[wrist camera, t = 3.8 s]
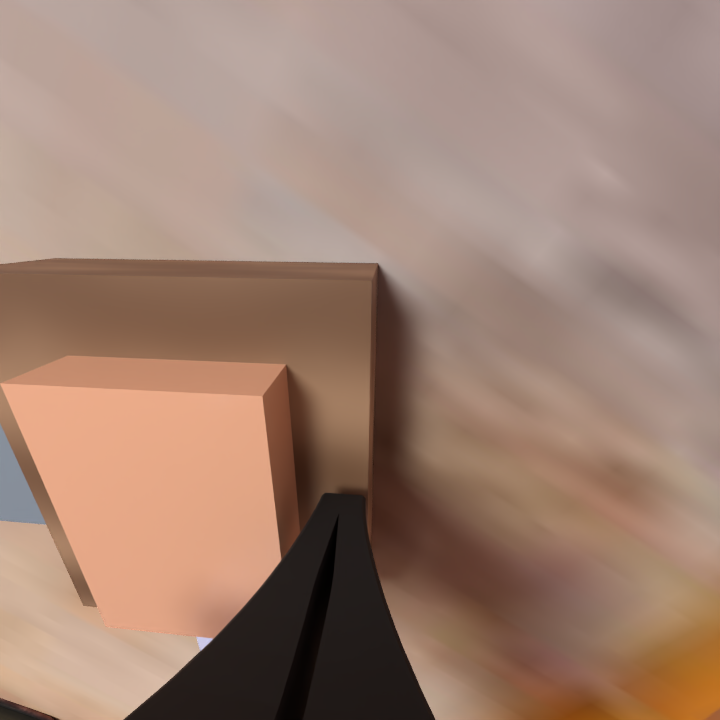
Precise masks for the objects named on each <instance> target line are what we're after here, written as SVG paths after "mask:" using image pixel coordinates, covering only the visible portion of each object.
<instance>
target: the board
mask: <svg viewBox="0 0 720 720" xmlns="http://www.w3.org/2000/svg"><path fill="white" fill-rule="evenodd" d="M377 282H378V263H316V262H253V261H189V260H125V259H61V258H54V259H45V260H36V261H27V262H18V263H8V264H0V383H2V382H5V381H7V380H10V379H12V378H15V377H17V376H19V375H22V374H24V373H27V372H29V371H31V370H34V369H36V368H39V367H41V366H44V365H46V364H48V363H51V362H53V361H56V360H58V359H61V358H63V357H65V356H92V357H117V358H141V359H166V360H191V361H215V362H240V363H265V364H286V369H287V381H288V393H289V405H290V417H291V429H292V441H293V453H294V466H295V478H296V490H297V502H298V514H299V526H300V532H301V531H302V529H303V528H304V526H305V525H306V523H307V521H308V520H309V518H310V517H311V515H312V513H313V511H314V510H315V508H316V506H317V504H318V502H319V500H320V498H321V496H322V495H323V494H324V493H337V494H351V495H363V496H364V497H365V498H366V521H367V528H368V534H369V540H370V544H371V529H372V488H373V447H374V406H375V364H376V323H377ZM0 424H1V426H2V429H3V431H4V433H5V435H6V437H7V440H8V442H9V444H10V446H11V448H12V450H13V453H14V455H15V457H16V459H17V461H18V464H19V466H20V468H21V470H22V472H23V475H24V477H25V479H26V481H27V483H28V485H29V488H30V490H31V492H32V494H33V496H34V499H35V501H36V503H37V505H38V507H39V509H40V512H41V514H42V516H43V518H44V520H45V523H46V525H47V527H48V529H49V531H50V534H51V536H52V538H53V540H54V542H55V544H56V547H57V549H58V551H59V553H60V555H61V558H62V560H63V562H64V564H65V566H66V568H67V571H68V573H69V575H70V577H71V579H72V582H73V584H74V586H75V588H76V590H77V593H78V595H79V597H80V599H81V601H82V603H83V606H91V607H97V605H96V603H95V600H94V598H93V596H92V593H91V591H90V589H89V587H88V584H87V582H86V580H85V577H84V575H83V573H82V570H81V568H80V566H79V564H78V561H77V559H76V557H75V554H74V552H73V550H72V547H71V545H70V543H69V541H68V538H67V536H66V534H65V531H64V529H63V527H62V524H61V522H60V520H59V518H58V515H57V513H56V511H55V508H54V506H53V504H52V502H51V499H50V497H49V495H48V492H47V490H46V488H45V485H44V483H43V481H42V479H41V476H40V474H39V472H38V469H37V467H36V465H35V462H34V460H33V458H32V456H31V453H30V451H29V449H28V446H27V444H26V442H25V439H24V437H23V435H22V433H21V430H20V428H19V426H18V423H17V421H16V419H15V417H14V414H13V412H12V410H11V407H10V405H9V403H8V400H7V398H6V396H5V394H4V391H3V389H2V387H1V384H0Z"/></svg>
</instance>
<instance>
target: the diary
mask: <svg viewBox="0 0 720 720" xmlns="http://www.w3.org/2000/svg"><path fill="white" fill-rule="evenodd" d="M0 720H55V719H53V718H52V717H50V716H48V715H46V714H43V713H41V712H38V711H36V710H33V709H30V708H27V707H24V706H22V705H19V704H16V703H13V702H10V701H7V700H4V699H1V698H0Z"/></svg>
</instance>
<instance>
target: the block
mask: <svg viewBox="0 0 720 720" xmlns="http://www.w3.org/2000/svg"><path fill="white" fill-rule="evenodd" d="M0 384H1V387H2V389H3V391H4V394H5V396H6V398H7V400H8V403H9V405H10V407H11V410H12V412H13V414H14V417H15V419H16V421H17V423H18V426H19V428H20V430H21V433H22V435H23V437H24V439H25V442H26V444H27V446H28V449H29V451H30V453H31V456H32V458H33V460H34V462H35V465H36V467H37V469H38V472H39V474H40V476H41V479H42V481H43V483H44V485H45V488H46V490H47V492H48V495H49V497H50V499H51V502H52V504H53V506H54V508H55V511H56V513H57V515H58V518H59V520H60V522H61V524H62V527H63V529H64V531H65V534H66V536H67V538H68V541H69V543H70V545H71V547H72V550H73V552H74V554H75V557H76V559H77V561H78V564H79V566H80V568H81V570H82V573H83V575H84V577H85V580H86V582H87V584H88V587H89V589H90V591H91V593H92V596H93V598H94V600H95V603H96V605H97V607H98V610H99V612H100V614H101V616H102V619H103V621H104V623H105V626H106V627H113V628H122V629H131V630H140V631H149V632H158V633H168V634H177V635H186V636H195V637H204V638H213V639H214V638H215V637H216V636H217V635H218V633H219V632H220V631H221V630H222V629H223V628H224V627H225V626H226V625H227V624H228V623H229V622H230V621H231V620H232V619H233V618H234V617H235V615H236V614H237V613H238V612H239V611H240V610H241V609H242V608H243V607H244V606H245V604H246V603H247V602H248V601H249V600H250V599H251V598H252V596H253V595H254V594H255V593H256V592H257V591H258V589H259V588H260V587H261V586H262V584H263V583H264V582H265V581H266V580H267V578H268V577H269V576H270V574H271V573H272V572H273V571H274V569H275V568H276V566H277V565H278V564H279V562H280V561H281V560H282V558H283V557H284V556H285V554H286V553H287V552H288V550H289V549H290V547H291V546H292V544H293V543H294V541H295V540H296V538H297V537H298V535H299V534H300V526H299V514H298V502H297V490H296V478H295V466H294V453H293V441H292V429H291V417H290V405H289V393H288V381H287V369H286V364H265V363H240V362H215V361H191V360H166V359H141V358H117V357H92V356H65V357H63V358H61V359H58V360H56V361H53V362H51V363H48V364H46V365H44V366H41V367H39V368H36V369H34V370H31V371H29V372H27V373H24V374H22V375H19V376H17V377H15V378H12V379H10V380H7V381H5V382H2V383H0Z"/></svg>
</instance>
